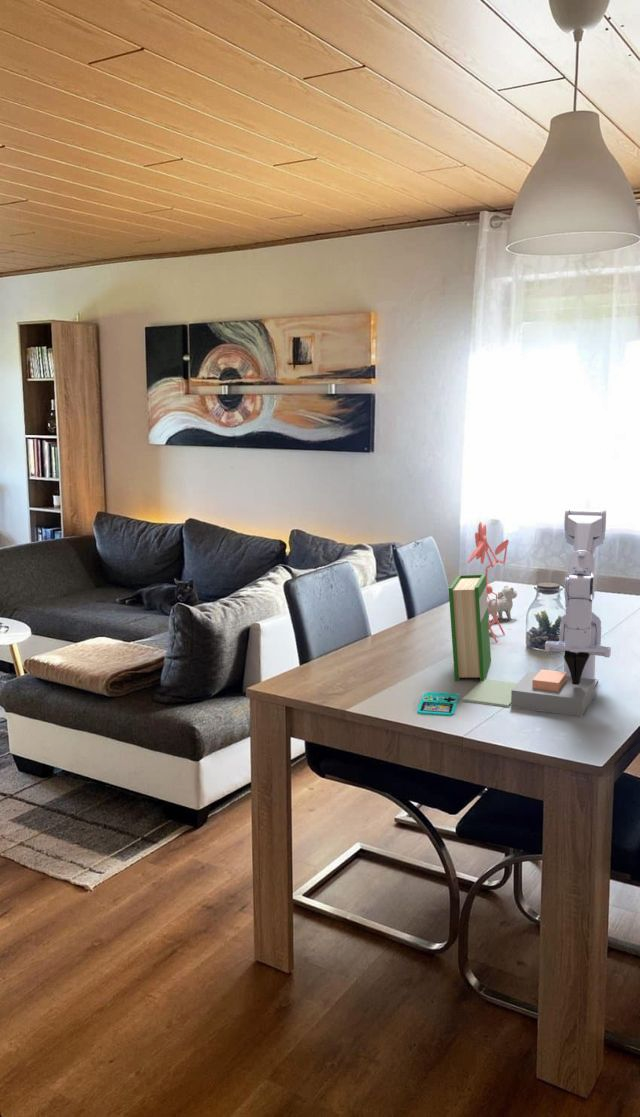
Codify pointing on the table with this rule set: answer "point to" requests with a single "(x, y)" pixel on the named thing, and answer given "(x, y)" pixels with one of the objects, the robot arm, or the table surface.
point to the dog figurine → (503, 602)
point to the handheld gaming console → (438, 703)
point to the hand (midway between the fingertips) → (576, 683)
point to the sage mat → (491, 693)
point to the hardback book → (470, 626)
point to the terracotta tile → (549, 680)
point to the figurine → (480, 551)
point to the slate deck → (553, 696)
